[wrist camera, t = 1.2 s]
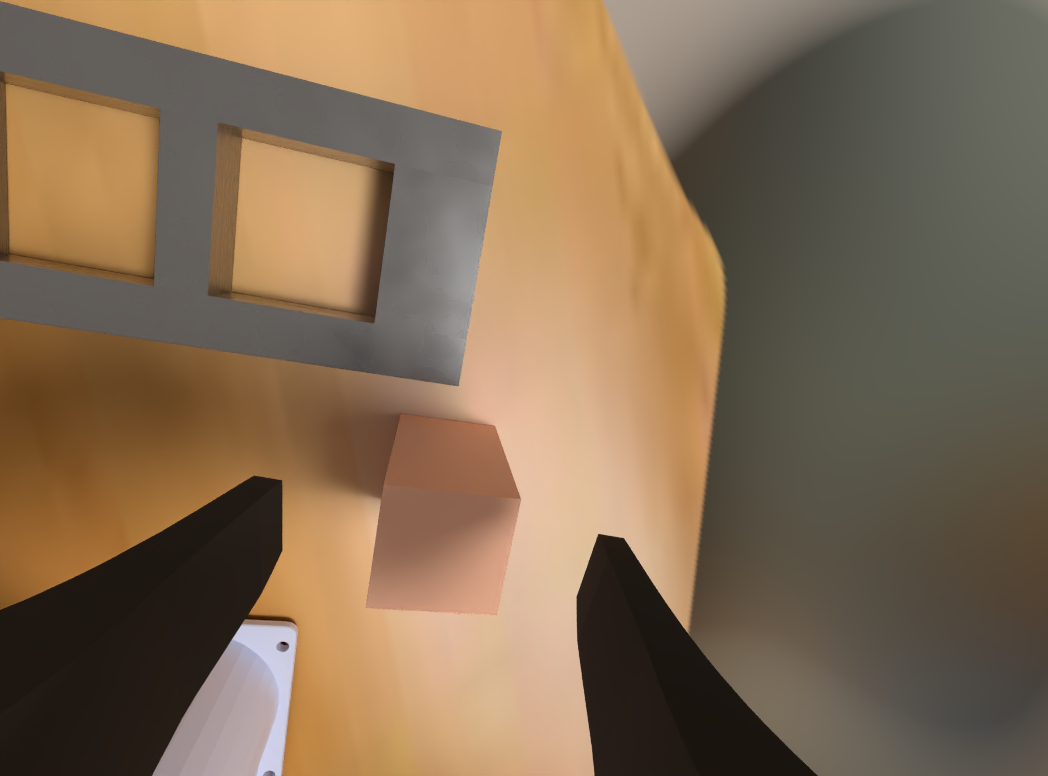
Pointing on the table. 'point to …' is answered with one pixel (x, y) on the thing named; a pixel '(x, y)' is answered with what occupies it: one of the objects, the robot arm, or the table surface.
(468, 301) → the grey slotted board
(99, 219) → the table surface
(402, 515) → the peg
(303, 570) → the table surface
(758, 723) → the robot arm
